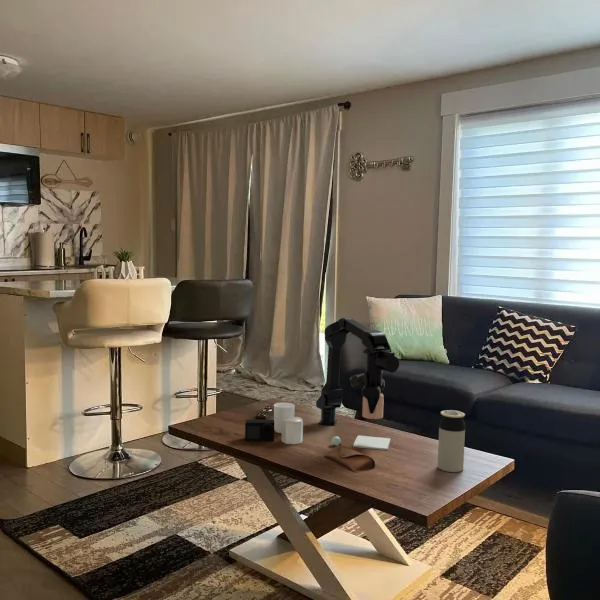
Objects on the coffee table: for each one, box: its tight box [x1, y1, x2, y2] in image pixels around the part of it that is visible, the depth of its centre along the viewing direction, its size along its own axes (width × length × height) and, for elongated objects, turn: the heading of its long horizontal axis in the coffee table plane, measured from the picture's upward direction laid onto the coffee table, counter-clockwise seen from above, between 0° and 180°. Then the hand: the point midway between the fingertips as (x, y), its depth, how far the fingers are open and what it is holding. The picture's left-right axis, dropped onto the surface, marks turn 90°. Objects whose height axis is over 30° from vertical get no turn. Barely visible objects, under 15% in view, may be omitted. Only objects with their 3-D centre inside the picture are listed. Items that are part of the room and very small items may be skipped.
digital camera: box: [244, 418, 275, 442], centre depth 218 cm, size 10×5×7 cm, turn 95°
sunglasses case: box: [322, 443, 376, 473], centre depth 198 cm, size 18×7×7 cm
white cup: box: [273, 402, 296, 434], centre depth 229 cm, size 8×8×10 cm
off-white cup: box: [281, 416, 304, 445], centre depth 217 cm, size 7×7×8 cm
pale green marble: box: [331, 435, 342, 447], centre depth 214 cm, size 3×3×3 cm
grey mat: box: [352, 435, 391, 451], centre depth 217 cm, size 12×12×1 cm
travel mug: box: [437, 409, 466, 473], centre depth 193 cm, size 8×8×18 cm
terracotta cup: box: [361, 392, 385, 420], centre depth 216 cm, size 7×7×8 cm
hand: (372, 410), depth 216 cm, fingers closed on terracotta cup, 7 cm apart
